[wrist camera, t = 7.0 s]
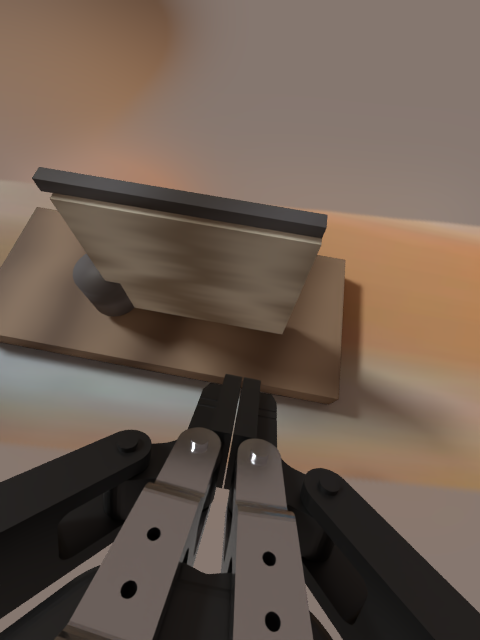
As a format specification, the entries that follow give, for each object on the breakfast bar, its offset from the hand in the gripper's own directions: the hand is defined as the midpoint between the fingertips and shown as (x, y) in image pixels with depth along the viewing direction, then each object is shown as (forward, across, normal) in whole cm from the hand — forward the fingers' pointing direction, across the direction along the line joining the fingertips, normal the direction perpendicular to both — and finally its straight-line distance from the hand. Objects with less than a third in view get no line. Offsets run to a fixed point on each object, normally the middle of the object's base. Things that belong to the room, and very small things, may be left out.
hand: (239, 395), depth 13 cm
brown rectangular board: (+11, +6, 0) cm, 12 cm away
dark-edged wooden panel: (+8, +4, -1) cm, 9 cm away
